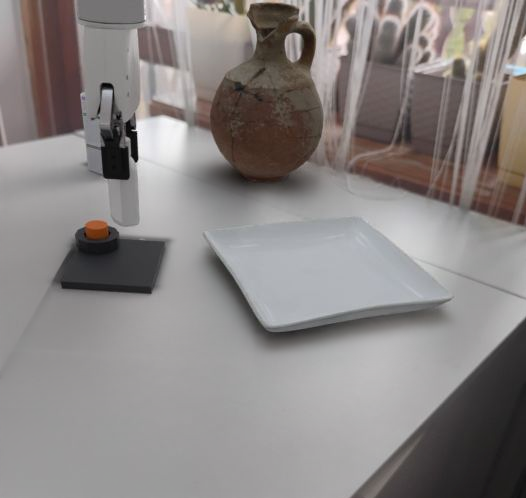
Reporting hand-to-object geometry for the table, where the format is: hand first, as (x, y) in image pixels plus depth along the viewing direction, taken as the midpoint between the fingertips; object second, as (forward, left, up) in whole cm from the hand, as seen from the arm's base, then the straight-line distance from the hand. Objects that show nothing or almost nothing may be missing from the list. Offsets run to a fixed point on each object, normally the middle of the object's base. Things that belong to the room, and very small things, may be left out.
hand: (121, 168), depth 80 cm
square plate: (+27, +1, -15) cm, 31 cm away
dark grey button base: (-2, +2, -15) cm, 16 cm away
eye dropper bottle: (0, 0, -7) cm, 7 cm away
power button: (-5, +6, -13) cm, 15 cm away
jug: (+19, +45, -15) cm, 51 cm away
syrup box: (-11, +41, -15) cm, 45 cm away
